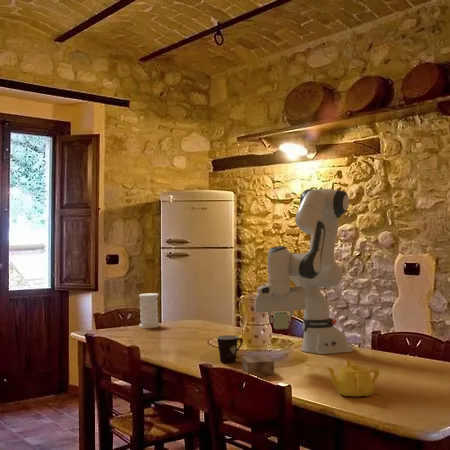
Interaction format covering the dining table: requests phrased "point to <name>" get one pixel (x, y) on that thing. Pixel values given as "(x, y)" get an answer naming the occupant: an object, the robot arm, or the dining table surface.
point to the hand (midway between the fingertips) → (280, 322)
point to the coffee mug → (228, 348)
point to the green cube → (281, 320)
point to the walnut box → (258, 365)
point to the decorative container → (149, 310)
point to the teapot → (354, 380)
